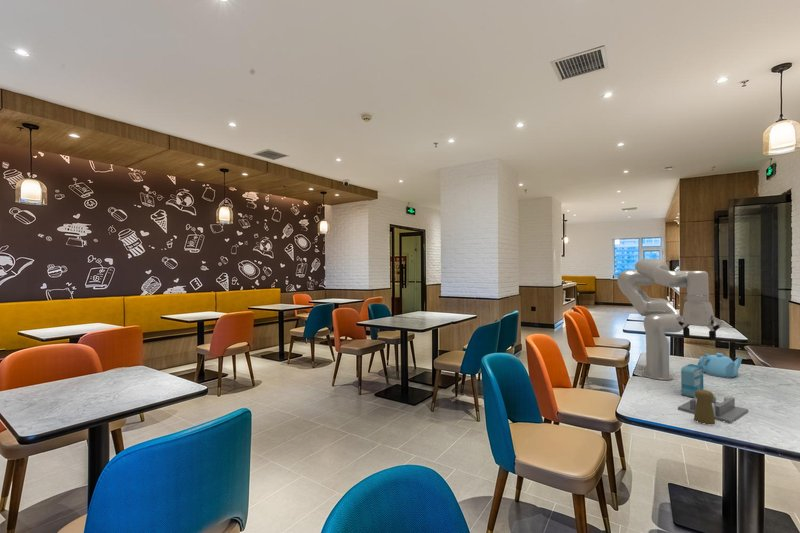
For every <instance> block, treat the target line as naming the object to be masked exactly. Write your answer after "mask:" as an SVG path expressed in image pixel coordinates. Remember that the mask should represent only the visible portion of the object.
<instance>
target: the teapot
mask: <svg viewBox="0 0 800 533" xmlns="http://www.w3.org/2000/svg"><path fill="white" fill-rule="evenodd" d="M742 360H743V358H739V357H737V358H735V360H733V359H732V358H731V357H729V356H726V355H724V353H720V352H715V354H709V353H704V356H702V355H701V356H700V357H699V360H698V362H697V365H700V366H703V373H705V374H707V373H708V374H707V375H709V374H710V376H713V375H714V377H718V376H719V377H718V378H727V377H728V378H729V379H730V378H735V377H736V376H738V374H739V369H740V367H741V364H742Z"/></svg>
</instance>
